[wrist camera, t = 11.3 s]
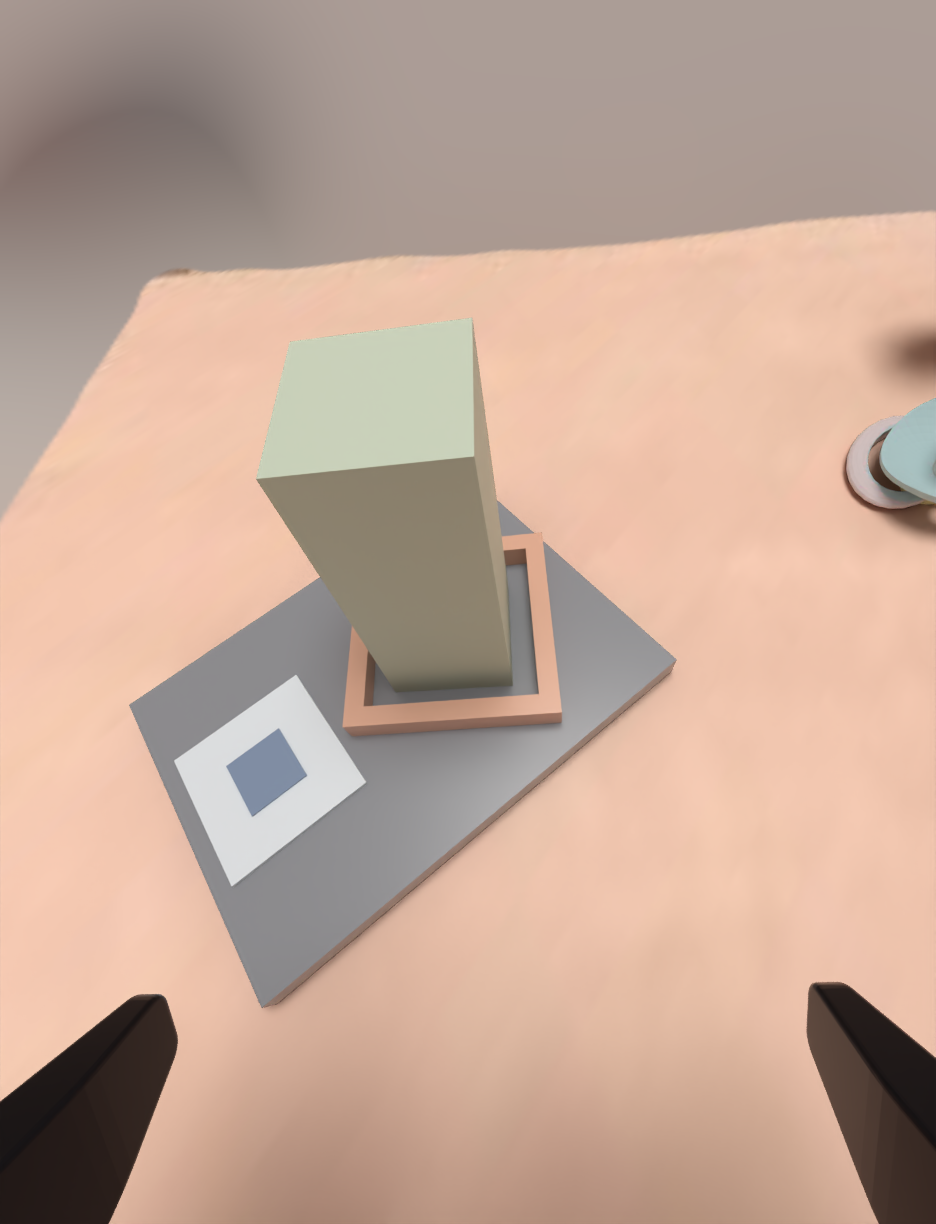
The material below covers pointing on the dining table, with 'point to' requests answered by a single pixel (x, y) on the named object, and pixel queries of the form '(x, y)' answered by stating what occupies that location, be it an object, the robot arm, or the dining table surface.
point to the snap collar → (466, 712)
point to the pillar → (397, 498)
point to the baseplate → (362, 764)
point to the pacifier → (898, 459)
